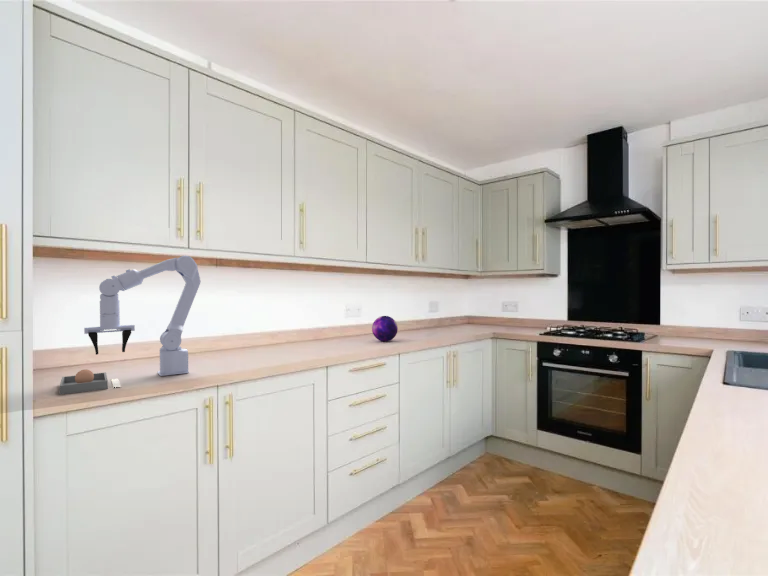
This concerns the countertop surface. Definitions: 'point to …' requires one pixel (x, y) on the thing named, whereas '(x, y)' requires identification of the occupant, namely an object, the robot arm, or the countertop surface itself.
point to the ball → (84, 376)
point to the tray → (83, 384)
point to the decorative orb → (384, 328)
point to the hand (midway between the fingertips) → (110, 353)
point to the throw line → (115, 383)
